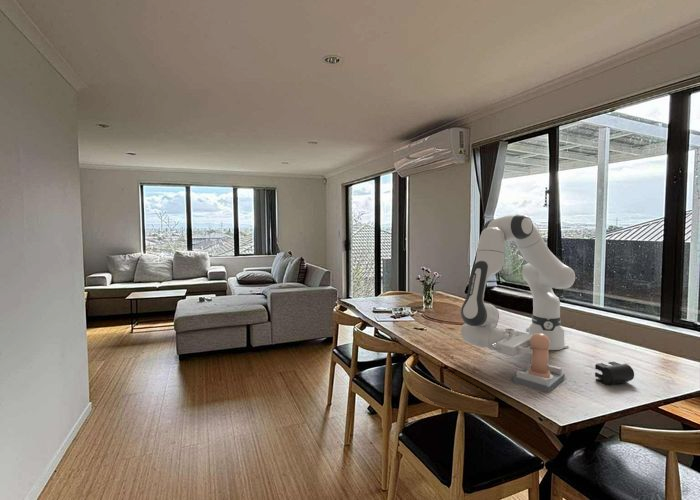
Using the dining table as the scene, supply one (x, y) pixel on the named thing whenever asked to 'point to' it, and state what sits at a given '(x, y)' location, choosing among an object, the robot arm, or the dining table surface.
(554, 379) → the display plinth
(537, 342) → the ball-topped peg
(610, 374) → the end cap
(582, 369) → the dining table surface
